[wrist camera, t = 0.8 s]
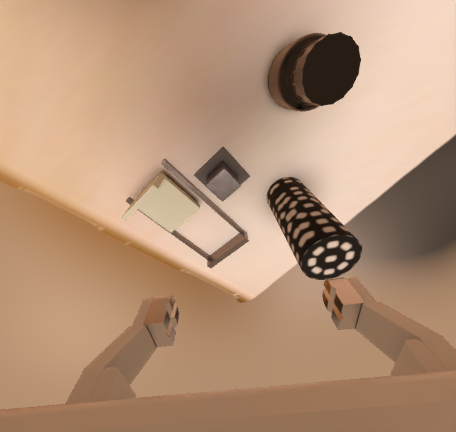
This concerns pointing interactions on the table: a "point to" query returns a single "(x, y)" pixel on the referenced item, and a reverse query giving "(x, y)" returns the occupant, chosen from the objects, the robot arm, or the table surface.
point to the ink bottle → (314, 71)
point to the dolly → (164, 203)
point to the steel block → (222, 181)
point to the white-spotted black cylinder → (312, 231)
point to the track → (237, 240)
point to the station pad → (217, 159)
